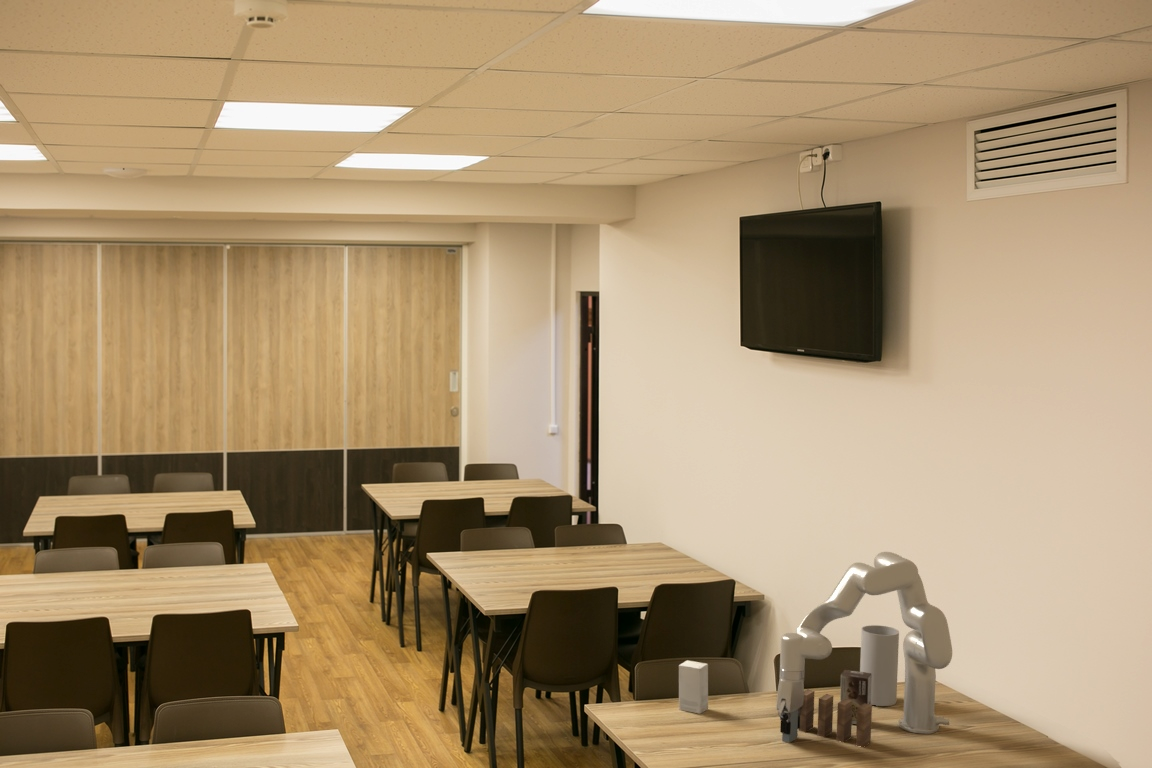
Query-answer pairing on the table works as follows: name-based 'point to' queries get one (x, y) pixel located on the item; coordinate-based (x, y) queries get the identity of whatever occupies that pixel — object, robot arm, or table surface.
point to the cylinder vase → (880, 662)
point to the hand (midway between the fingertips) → (790, 730)
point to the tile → (794, 727)
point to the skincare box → (693, 687)
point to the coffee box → (856, 689)
